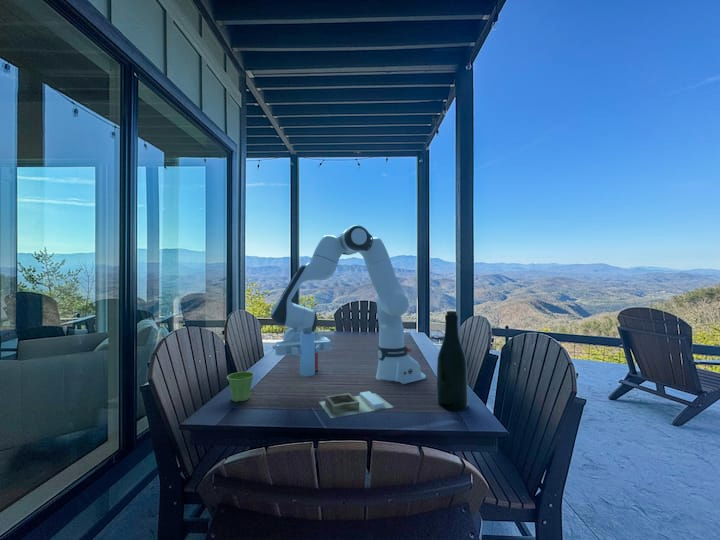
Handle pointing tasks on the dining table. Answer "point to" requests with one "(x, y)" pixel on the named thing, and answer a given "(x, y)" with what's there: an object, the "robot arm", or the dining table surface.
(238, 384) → the plant pot
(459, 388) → the green wine bottle
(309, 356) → the tapered blue cylinder
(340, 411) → the jig
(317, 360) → the beer can
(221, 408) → the dining table surface
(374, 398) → the white rectangular bar
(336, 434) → the dining table surface
